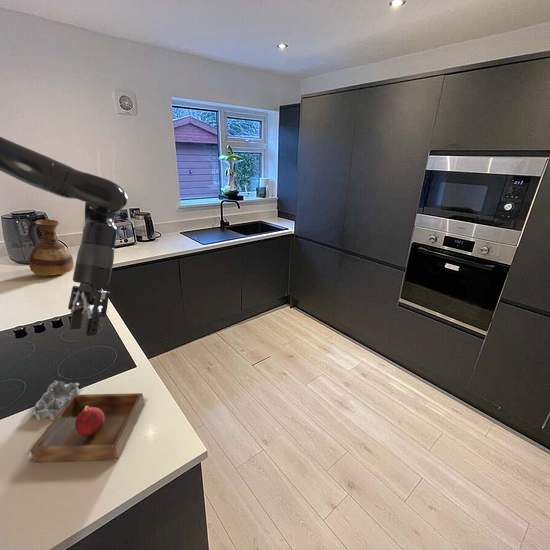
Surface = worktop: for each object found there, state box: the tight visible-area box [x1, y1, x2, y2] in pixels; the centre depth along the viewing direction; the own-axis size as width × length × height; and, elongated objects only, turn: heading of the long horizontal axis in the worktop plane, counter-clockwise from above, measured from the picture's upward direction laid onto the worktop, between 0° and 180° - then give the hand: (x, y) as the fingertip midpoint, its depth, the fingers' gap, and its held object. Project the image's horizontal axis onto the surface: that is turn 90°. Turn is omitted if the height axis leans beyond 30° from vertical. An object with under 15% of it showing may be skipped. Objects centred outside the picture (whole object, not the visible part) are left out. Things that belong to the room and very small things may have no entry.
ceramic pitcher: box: [28, 219, 75, 277], centre depth 157 cm, size 20×20×30 cm
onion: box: [75, 406, 105, 436], centre depth 67 cm, size 6×6×8 cm
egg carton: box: [29, 379, 81, 421], centre depth 76 cm, size 11×8×4 cm
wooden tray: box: [29, 392, 146, 464], centre depth 69 cm, size 18×16×4 cm
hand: (82, 332), depth 68 cm, fingers open, 8 cm apart
